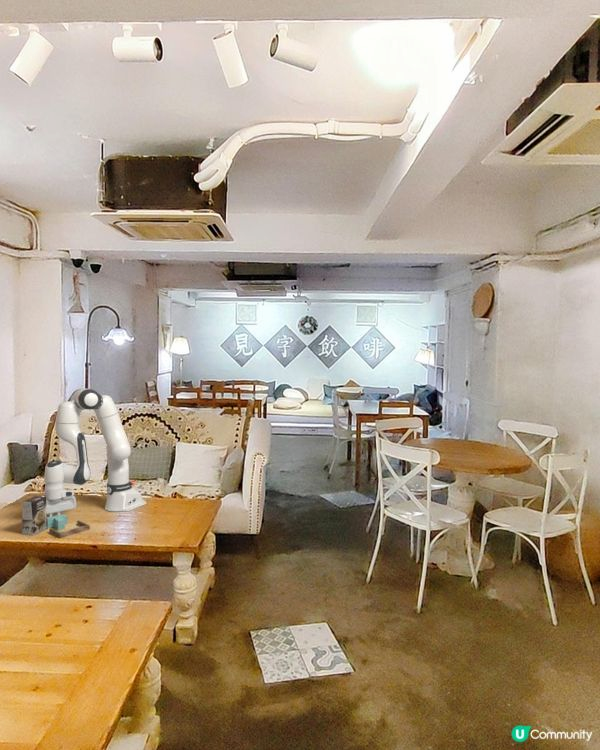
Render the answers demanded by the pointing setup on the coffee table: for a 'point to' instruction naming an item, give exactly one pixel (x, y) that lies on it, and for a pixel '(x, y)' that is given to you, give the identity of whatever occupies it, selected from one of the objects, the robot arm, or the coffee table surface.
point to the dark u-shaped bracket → (70, 532)
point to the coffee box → (34, 515)
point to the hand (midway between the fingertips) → (54, 520)
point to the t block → (57, 521)
